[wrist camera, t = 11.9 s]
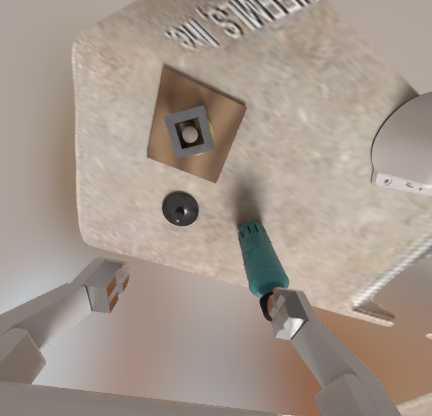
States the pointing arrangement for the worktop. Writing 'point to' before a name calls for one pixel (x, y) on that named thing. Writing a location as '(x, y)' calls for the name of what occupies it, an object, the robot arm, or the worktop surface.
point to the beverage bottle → (261, 263)
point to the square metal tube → (176, 132)
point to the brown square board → (194, 126)
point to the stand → (180, 209)
